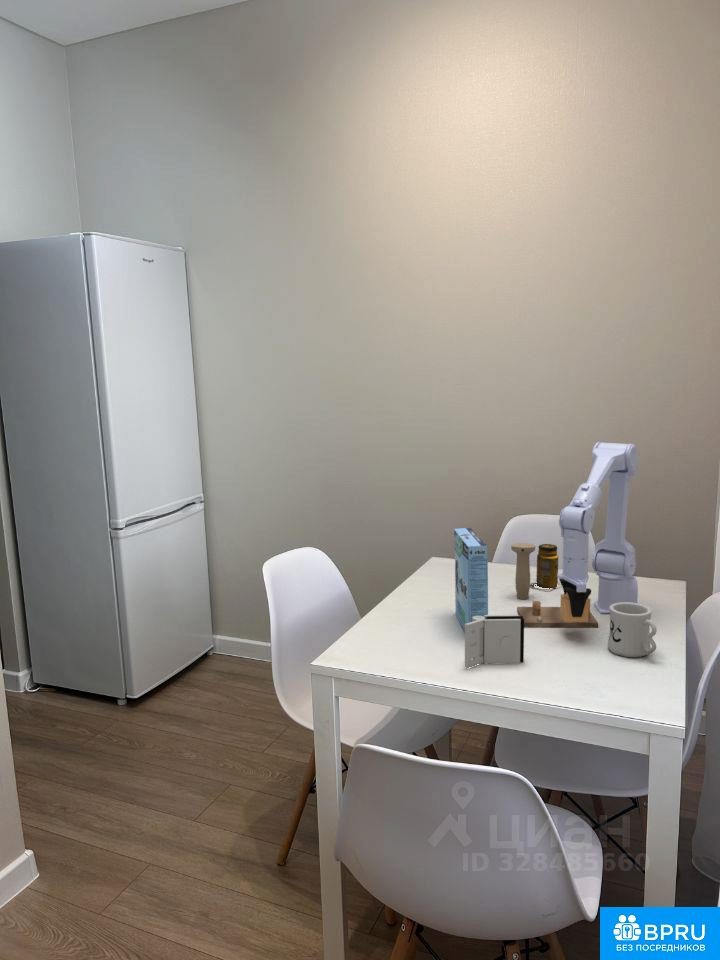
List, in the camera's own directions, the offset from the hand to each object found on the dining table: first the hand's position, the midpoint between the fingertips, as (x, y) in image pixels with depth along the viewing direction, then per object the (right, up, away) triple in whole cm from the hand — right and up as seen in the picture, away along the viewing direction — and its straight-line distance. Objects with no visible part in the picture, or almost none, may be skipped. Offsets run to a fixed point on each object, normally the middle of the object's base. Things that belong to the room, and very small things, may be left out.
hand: (574, 612), depth 177 cm
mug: (+10, -8, -11) cm, 17 cm away
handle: (-6, -1, +29) cm, 30 cm away
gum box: (-23, -5, +9) cm, 25 cm away
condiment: (+3, 0, +39) cm, 39 cm away
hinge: (-22, -9, -14) cm, 28 cm away
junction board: (-1, -4, +12) cm, 12 cm away
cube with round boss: (0, -1, 0) cm, 1 cm away
